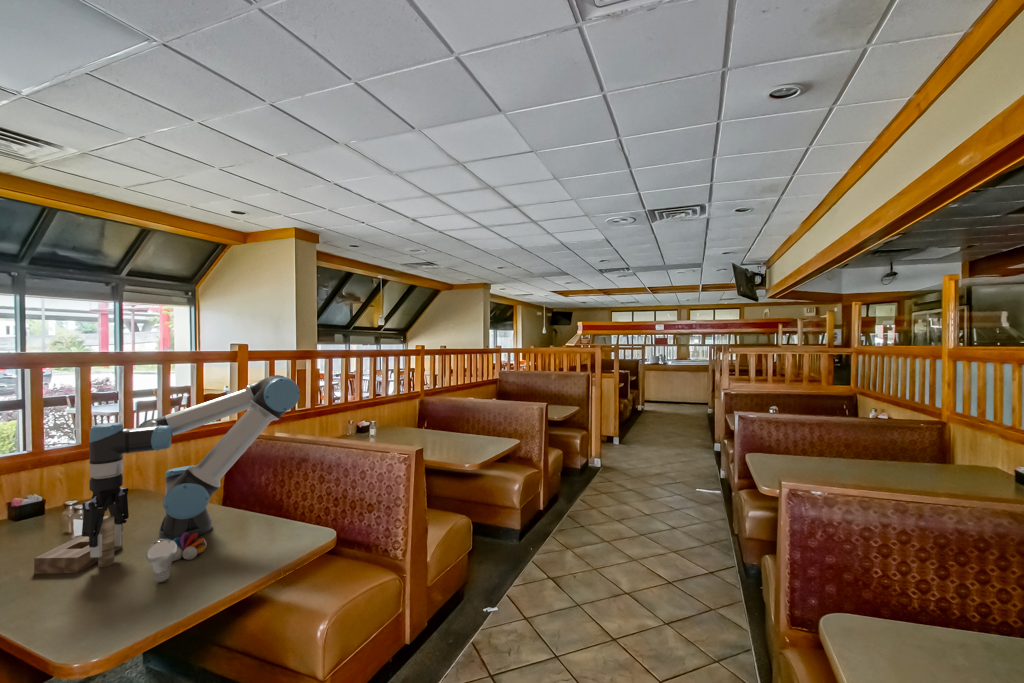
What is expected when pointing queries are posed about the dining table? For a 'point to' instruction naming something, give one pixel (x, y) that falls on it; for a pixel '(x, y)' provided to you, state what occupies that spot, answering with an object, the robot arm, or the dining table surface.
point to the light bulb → (161, 557)
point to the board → (67, 557)
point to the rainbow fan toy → (189, 546)
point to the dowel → (107, 542)
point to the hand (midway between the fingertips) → (106, 550)
